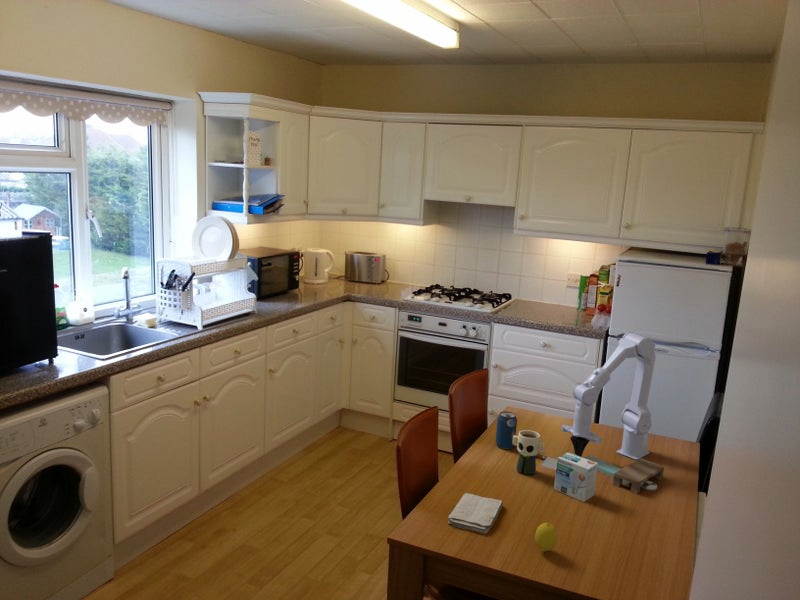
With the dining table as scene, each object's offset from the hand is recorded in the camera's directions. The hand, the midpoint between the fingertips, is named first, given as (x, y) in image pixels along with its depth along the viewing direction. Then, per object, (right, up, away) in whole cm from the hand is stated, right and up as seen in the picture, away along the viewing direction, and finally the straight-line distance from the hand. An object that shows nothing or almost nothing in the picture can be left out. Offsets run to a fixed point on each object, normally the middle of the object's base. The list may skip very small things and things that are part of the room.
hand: (578, 456), depth 227 cm
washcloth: (-40, -7, -41) cm, 58 cm away
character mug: (-20, -2, -12) cm, 24 cm away
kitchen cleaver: (-11, -2, -5) cm, 12 cm away
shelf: (+15, -5, -14) cm, 22 cm away
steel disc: (+17, -6, -18) cm, 26 cm away
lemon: (-24, -11, -58) cm, 63 cm away
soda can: (-24, +2, +8) cm, 25 cm away
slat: (+8, -3, -8) cm, 12 cm away
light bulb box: (-8, -6, -24) cm, 26 cm away
